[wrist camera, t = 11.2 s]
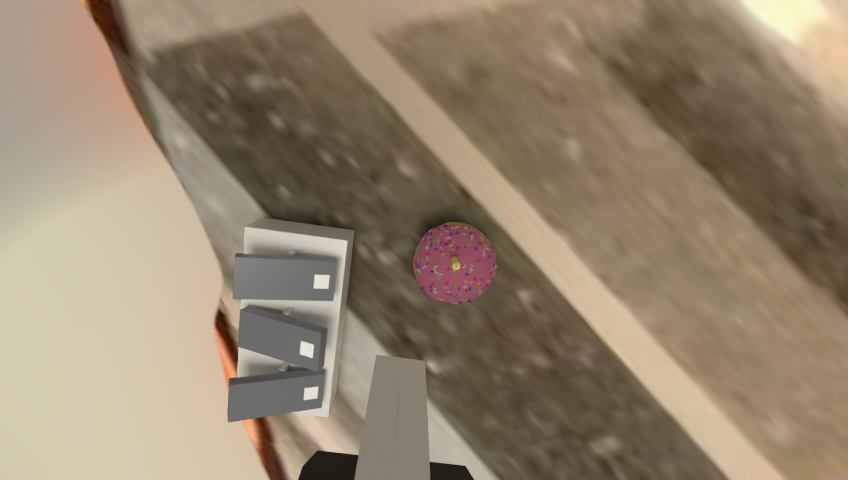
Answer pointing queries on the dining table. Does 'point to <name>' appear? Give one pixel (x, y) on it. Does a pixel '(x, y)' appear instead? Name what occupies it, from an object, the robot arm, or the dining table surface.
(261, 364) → the switch unit
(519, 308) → the dining table surface
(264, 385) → the rocker
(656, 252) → the dining table surface
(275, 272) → the rocker
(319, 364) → the block
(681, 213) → the dining table surface
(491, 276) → the cupcake
